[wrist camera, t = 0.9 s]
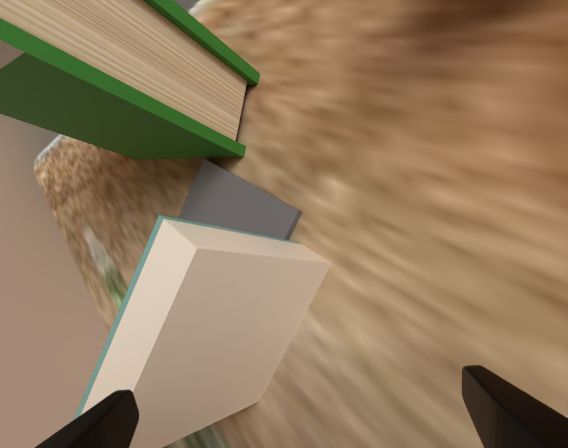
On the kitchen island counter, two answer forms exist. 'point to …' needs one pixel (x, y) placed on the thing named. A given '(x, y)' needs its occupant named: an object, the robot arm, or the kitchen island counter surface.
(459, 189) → the kitchen island counter surface
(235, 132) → the hardback book
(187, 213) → the mat
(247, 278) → the tile
